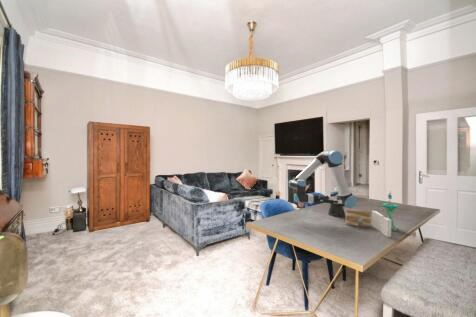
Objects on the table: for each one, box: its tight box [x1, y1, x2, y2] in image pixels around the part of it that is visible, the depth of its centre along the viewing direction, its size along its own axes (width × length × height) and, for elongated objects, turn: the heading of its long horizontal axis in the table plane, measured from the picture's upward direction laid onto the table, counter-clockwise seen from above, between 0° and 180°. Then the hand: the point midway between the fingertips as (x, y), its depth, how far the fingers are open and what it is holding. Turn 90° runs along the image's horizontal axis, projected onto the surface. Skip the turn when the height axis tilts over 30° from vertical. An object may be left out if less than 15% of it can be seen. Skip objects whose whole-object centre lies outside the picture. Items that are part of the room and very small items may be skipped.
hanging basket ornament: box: [381, 190, 399, 232], centre depth 170 cm, size 11×11×30 cm
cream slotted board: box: [371, 210, 392, 238], centre depth 165 cm, size 26×2×12 cm, turn 169°
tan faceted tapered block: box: [344, 209, 371, 227], centre depth 177 cm, size 2×18×12 cm, turn 79°
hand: (339, 200), depth 179 cm, fingers open, 13 cm apart
